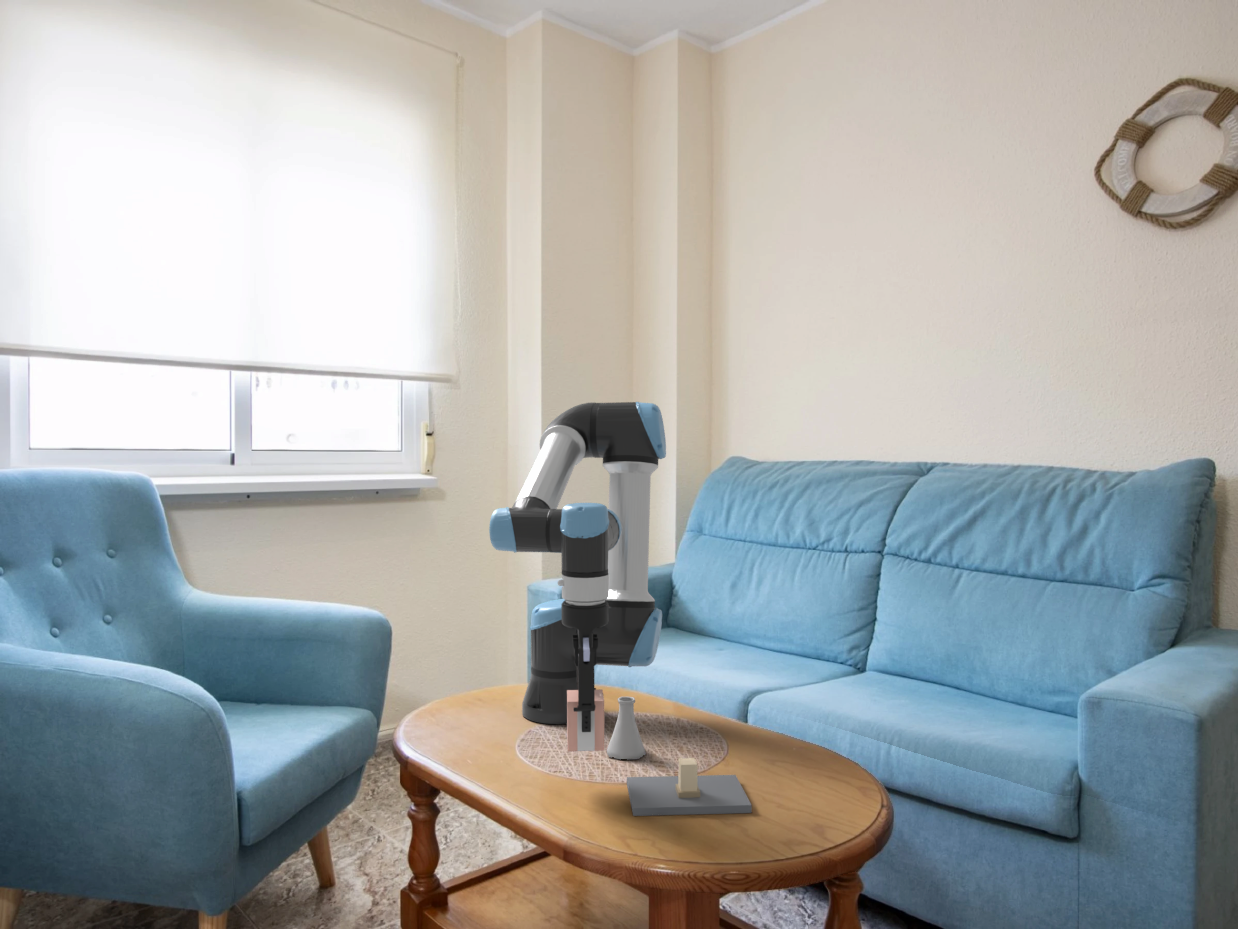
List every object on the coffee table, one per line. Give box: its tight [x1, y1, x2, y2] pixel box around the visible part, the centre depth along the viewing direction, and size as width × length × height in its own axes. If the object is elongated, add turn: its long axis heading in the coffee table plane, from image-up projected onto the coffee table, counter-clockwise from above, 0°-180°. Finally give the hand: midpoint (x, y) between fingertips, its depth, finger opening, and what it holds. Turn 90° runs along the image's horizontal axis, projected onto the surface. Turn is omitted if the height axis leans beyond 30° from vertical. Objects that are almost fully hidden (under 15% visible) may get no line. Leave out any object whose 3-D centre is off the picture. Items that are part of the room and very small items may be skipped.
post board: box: [626, 757, 753, 817], centre depth 137 cm, size 12×18×6 cm, turn 94°
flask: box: [606, 696, 647, 760], centre depth 157 cm, size 7×7×10 cm
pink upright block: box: [566, 688, 605, 753], centre depth 141 cm, size 6×6×8 cm
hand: (585, 742), depth 141 cm, fingers closed on pink upright block, 6 cm apart
